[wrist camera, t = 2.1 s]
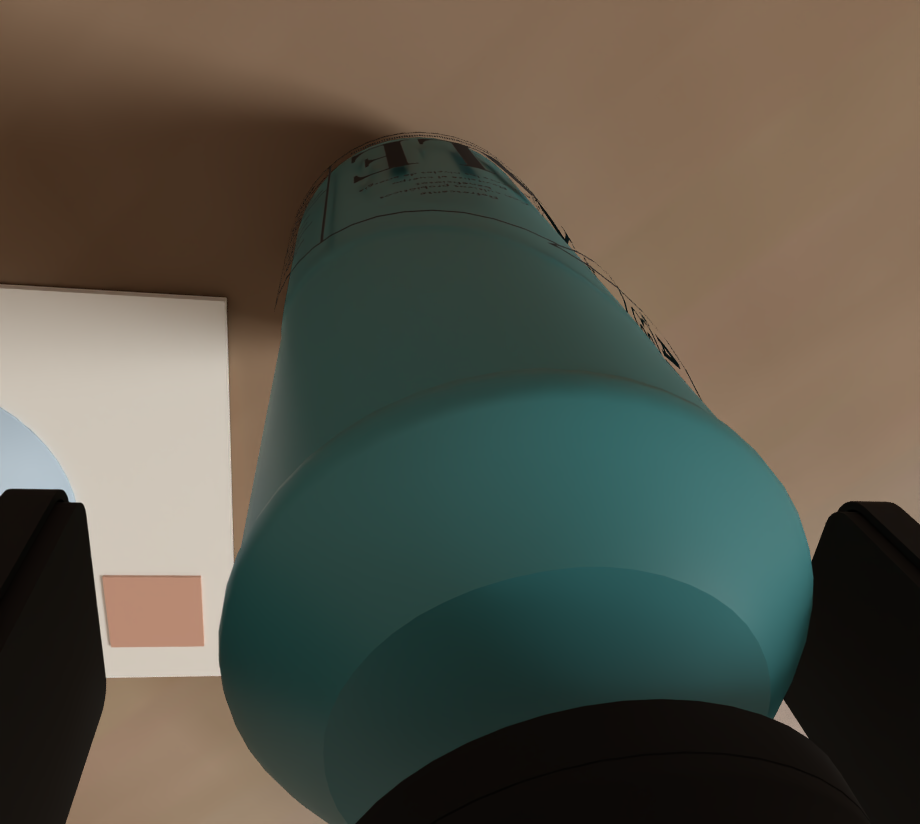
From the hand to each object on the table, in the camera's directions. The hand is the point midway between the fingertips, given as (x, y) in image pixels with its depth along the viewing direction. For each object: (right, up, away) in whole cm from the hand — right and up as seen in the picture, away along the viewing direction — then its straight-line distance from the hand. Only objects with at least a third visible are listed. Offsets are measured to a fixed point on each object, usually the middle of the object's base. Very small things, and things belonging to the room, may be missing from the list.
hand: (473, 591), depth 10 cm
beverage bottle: (-1, +7, +12) cm, 14 cm away
